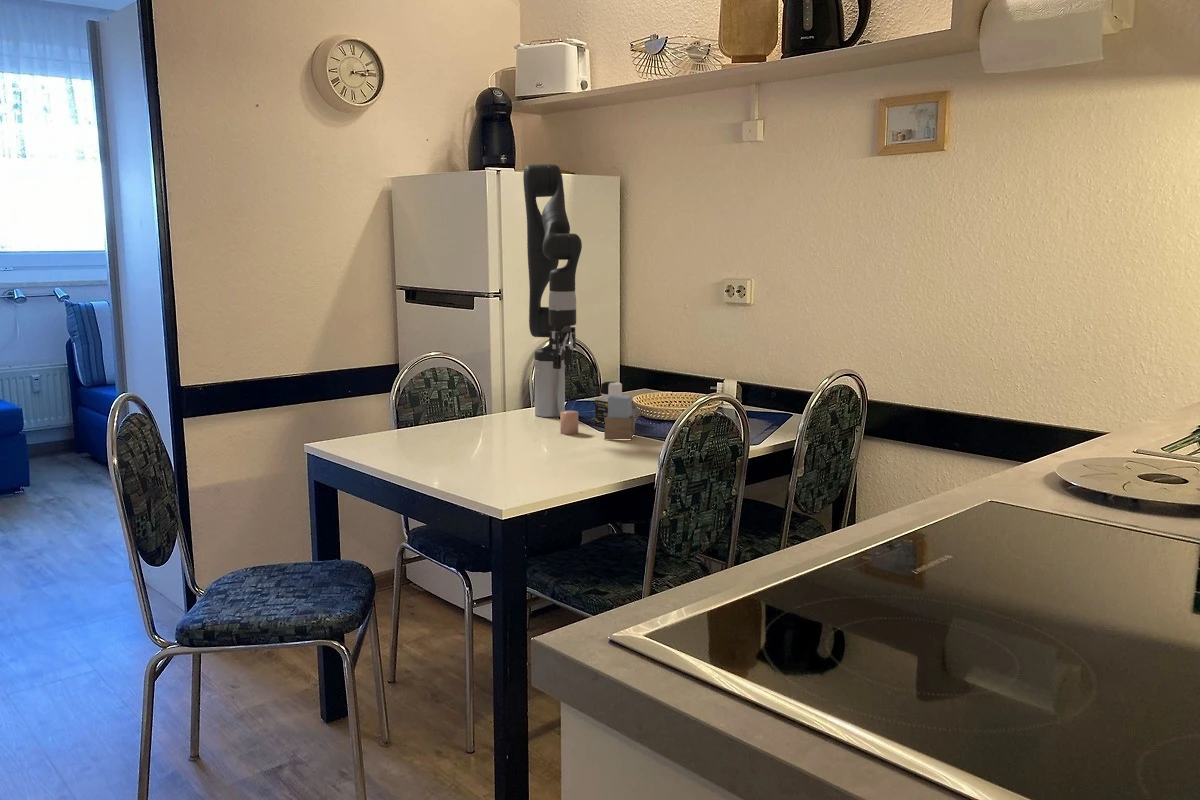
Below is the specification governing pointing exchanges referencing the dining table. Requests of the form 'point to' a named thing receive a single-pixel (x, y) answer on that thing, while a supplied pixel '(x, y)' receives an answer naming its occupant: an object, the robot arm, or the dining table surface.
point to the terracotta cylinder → (569, 422)
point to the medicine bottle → (606, 399)
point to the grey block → (620, 406)
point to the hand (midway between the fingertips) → (562, 366)
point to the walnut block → (619, 428)
